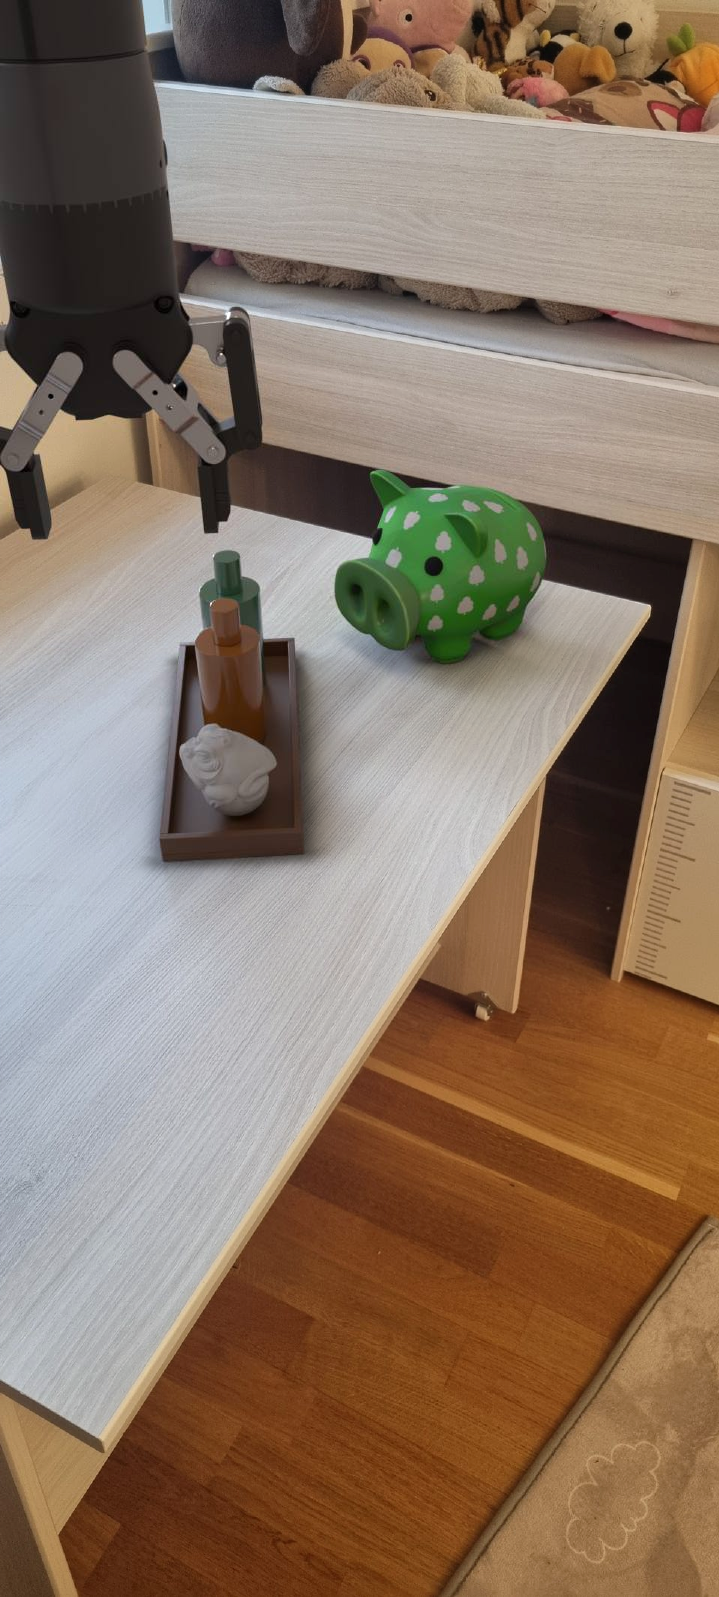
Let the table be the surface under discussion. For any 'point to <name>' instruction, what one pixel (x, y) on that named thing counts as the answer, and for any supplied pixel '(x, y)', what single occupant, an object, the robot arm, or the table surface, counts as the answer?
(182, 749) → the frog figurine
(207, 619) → the green bottle
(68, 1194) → the table surface
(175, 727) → the tray
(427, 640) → the piggy bank
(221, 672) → the amber bottle
